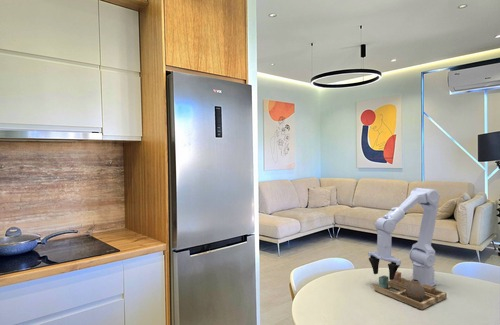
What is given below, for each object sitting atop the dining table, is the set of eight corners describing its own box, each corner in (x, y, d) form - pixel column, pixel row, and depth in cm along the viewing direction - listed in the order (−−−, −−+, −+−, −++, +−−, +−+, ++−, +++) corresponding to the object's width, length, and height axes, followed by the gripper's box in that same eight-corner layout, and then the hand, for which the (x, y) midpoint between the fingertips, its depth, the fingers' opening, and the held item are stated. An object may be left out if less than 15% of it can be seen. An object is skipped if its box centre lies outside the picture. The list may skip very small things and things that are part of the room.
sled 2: (399, 281, 145) (399, 270, 145) (446, 297, 128) (446, 285, 128) (389, 284, 141) (389, 273, 141) (437, 302, 124) (437, 289, 124)
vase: (427, 306, 121) (427, 284, 121) (408, 304, 123) (408, 282, 122) (421, 298, 128) (421, 277, 128) (403, 297, 129) (403, 276, 129)
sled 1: (388, 285, 141) (388, 274, 141) (436, 302, 124) (436, 290, 124) (374, 290, 135) (374, 278, 135) (421, 309, 118) (422, 296, 118)
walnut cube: (425, 293, 134) (425, 284, 134) (435, 296, 130) (435, 287, 130) (420, 295, 131) (420, 286, 131) (430, 299, 128) (430, 289, 128)
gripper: (364, 243, 141) (363, 273, 141) (394, 251, 129) (393, 284, 129) (373, 241, 145) (373, 270, 145) (404, 248, 132) (403, 280, 133)
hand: (383, 276), depth 137 cm, fingers open, 7 cm apart
